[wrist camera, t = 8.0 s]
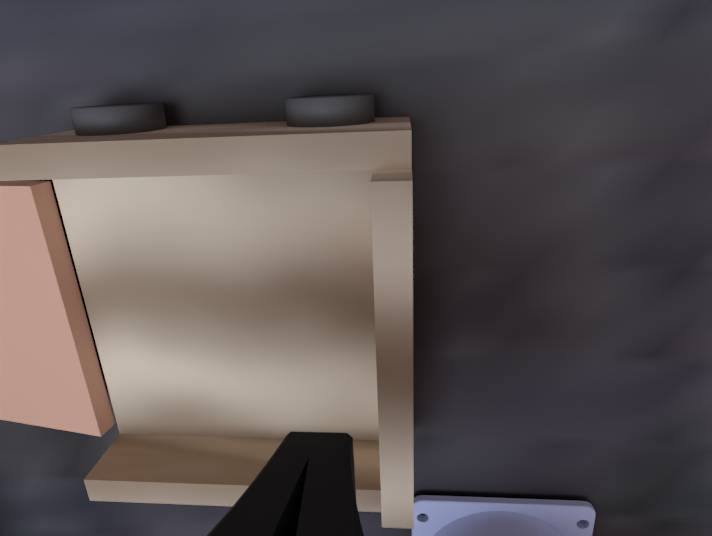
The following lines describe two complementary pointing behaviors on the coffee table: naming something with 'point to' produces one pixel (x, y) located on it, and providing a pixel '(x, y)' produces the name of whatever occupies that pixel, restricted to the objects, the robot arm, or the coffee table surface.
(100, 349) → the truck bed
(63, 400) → the panel
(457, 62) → the coffee table surface
